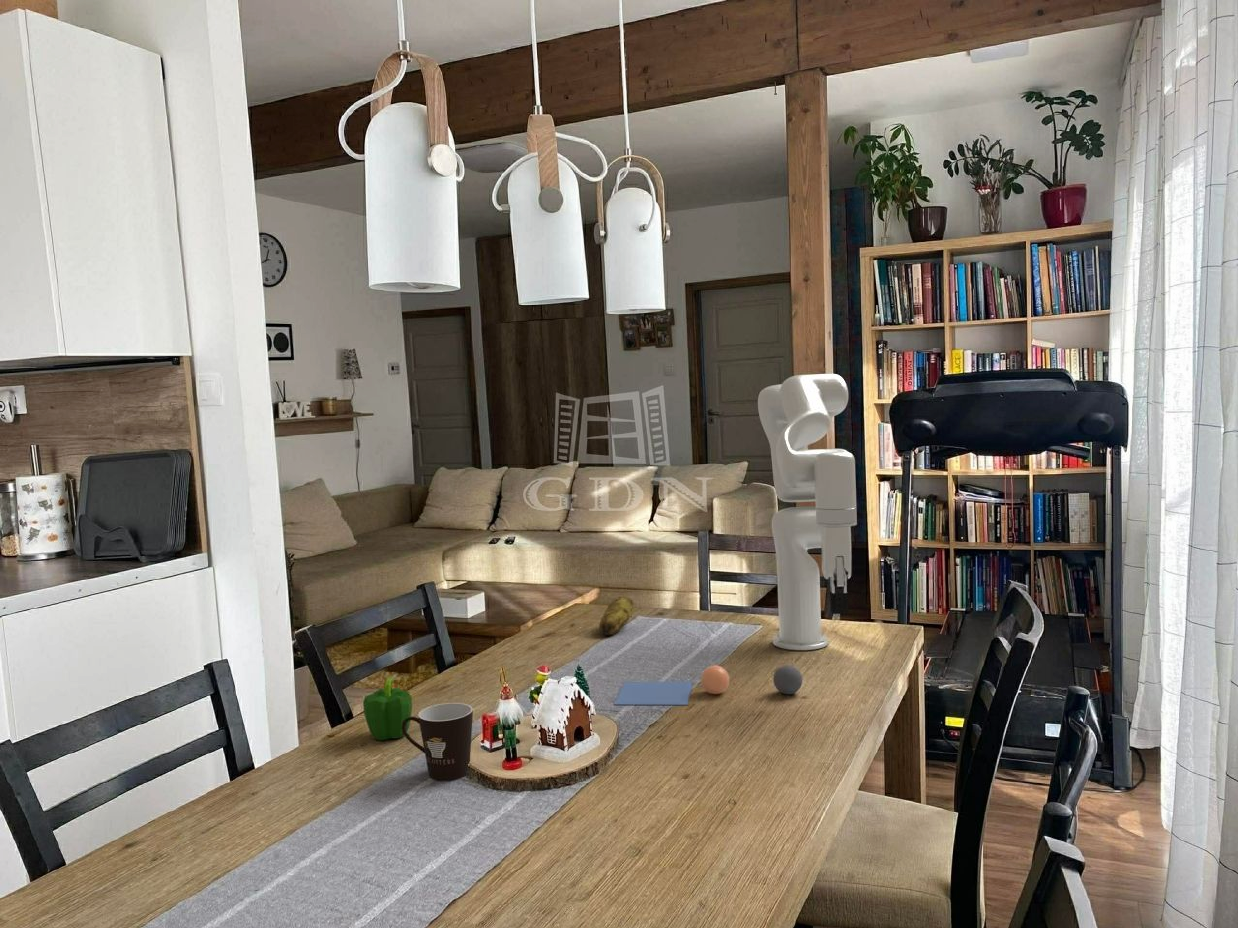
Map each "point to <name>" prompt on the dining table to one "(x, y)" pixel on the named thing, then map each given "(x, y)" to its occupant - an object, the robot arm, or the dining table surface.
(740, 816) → the dining table surface
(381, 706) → the bell pepper
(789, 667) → the dark gray ball
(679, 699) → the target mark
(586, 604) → the dining table surface
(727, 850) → the dining table surface
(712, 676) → the object ball
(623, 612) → the potato
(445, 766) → the coffee mug
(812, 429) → the robot arm
